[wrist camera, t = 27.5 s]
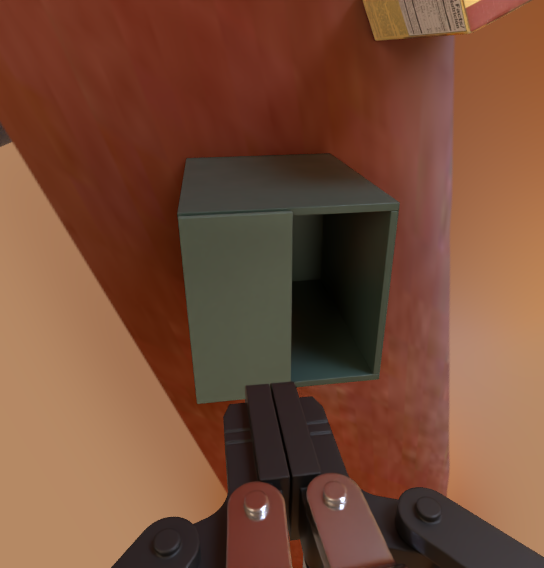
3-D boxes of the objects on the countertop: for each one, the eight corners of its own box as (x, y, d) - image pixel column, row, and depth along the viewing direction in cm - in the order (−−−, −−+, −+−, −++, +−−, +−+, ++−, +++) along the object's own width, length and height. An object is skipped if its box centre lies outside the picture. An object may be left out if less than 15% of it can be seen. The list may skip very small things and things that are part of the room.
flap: (197, 400, 31) (197, 404, 30) (178, 216, 25) (177, 218, 25) (289, 390, 31) (290, 394, 31) (291, 210, 26) (292, 212, 25)
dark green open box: (198, 289, 46) (196, 397, 31) (186, 158, 40) (177, 213, 25) (324, 281, 47) (379, 379, 33) (330, 153, 42) (400, 202, 27)
